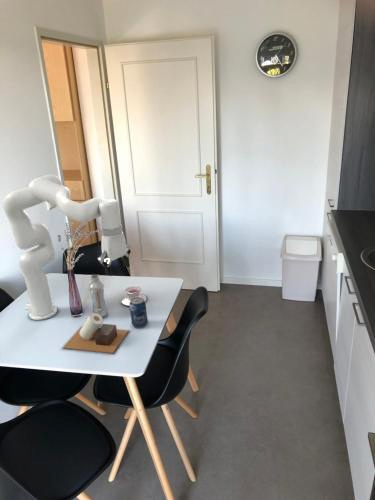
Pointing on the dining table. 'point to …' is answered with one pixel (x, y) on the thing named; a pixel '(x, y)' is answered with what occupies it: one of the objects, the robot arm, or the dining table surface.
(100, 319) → the paper roll
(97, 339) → the walnut block
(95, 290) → the plastic bottle
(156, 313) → the dining table surface
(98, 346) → the cork mat
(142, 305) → the soda can
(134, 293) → the teacup
